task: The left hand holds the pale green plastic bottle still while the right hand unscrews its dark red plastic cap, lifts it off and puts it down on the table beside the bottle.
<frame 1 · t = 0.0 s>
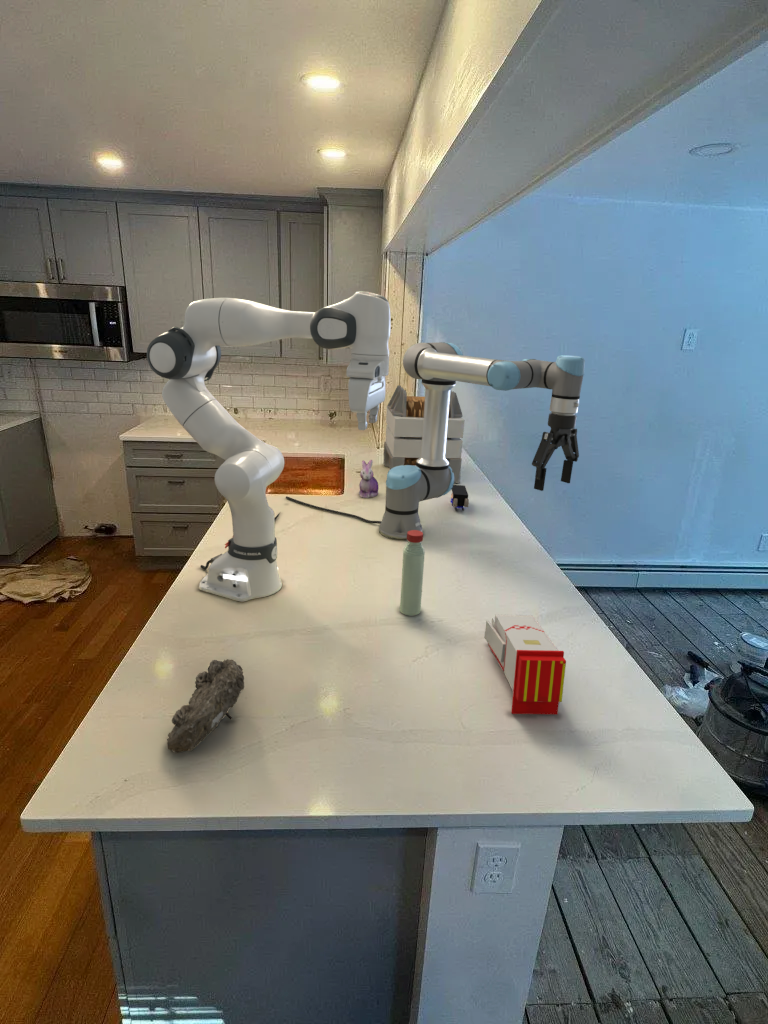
left hand: (367, 425, 136), 48 cm above the counter, tool pointing down, fingers open, 8 cm apart
right hand: (552, 485, 166), 28 cm above the counter, tool pointing down, fingers open, 13 cm apart
toy: (516, 673, 125), on the counter
bottle: (410, 610, 150), on the counter
white storage crate: (419, 473, 275), on the counter
figurine: (368, 495, 239), on the counter
figurine character: (458, 507, 230), on the counter
feather: (278, 516, 211), on the counter
cap: (415, 534, 142), point 22 cm above the counter, screwed on, not yet turned
fossil: (212, 717, 108), on the counter
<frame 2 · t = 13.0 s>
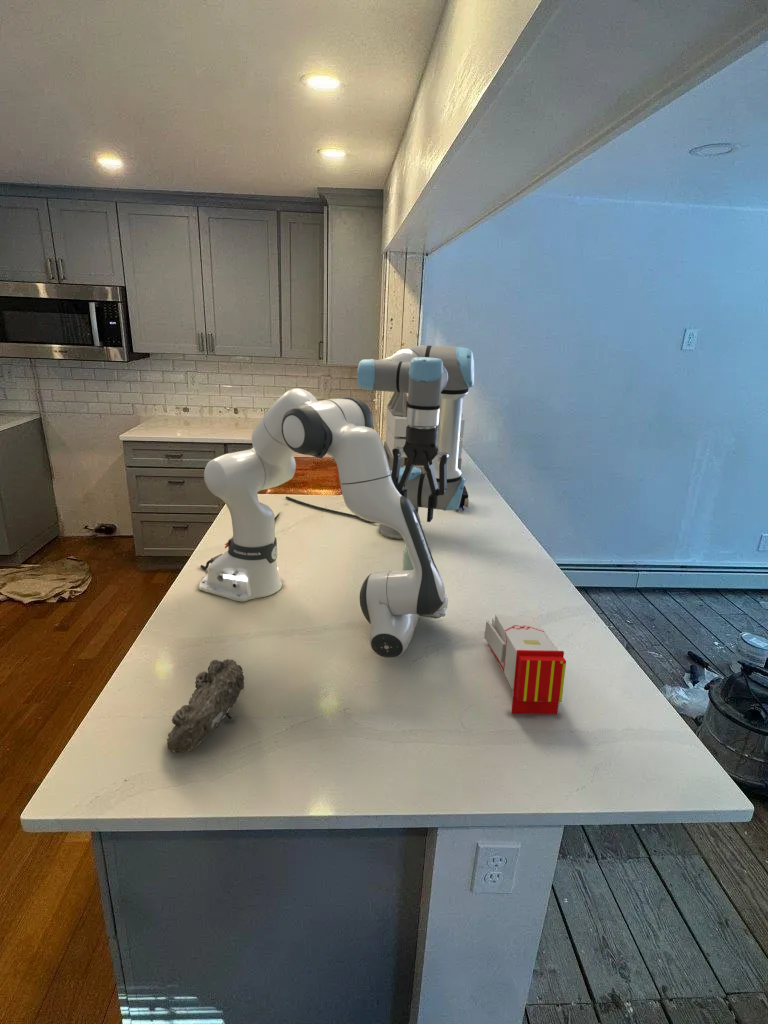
left hand: (412, 585, 148), 7 cm above the counter, tool horizontal, fingers closed on bottle, 5 cm apart
right hand: (416, 517, 141), 26 cm above the counter, tool pointing down, fingers open, 6 cm apart
bottle: (410, 610, 150), on the counter, touching left hand
everything else where it was.
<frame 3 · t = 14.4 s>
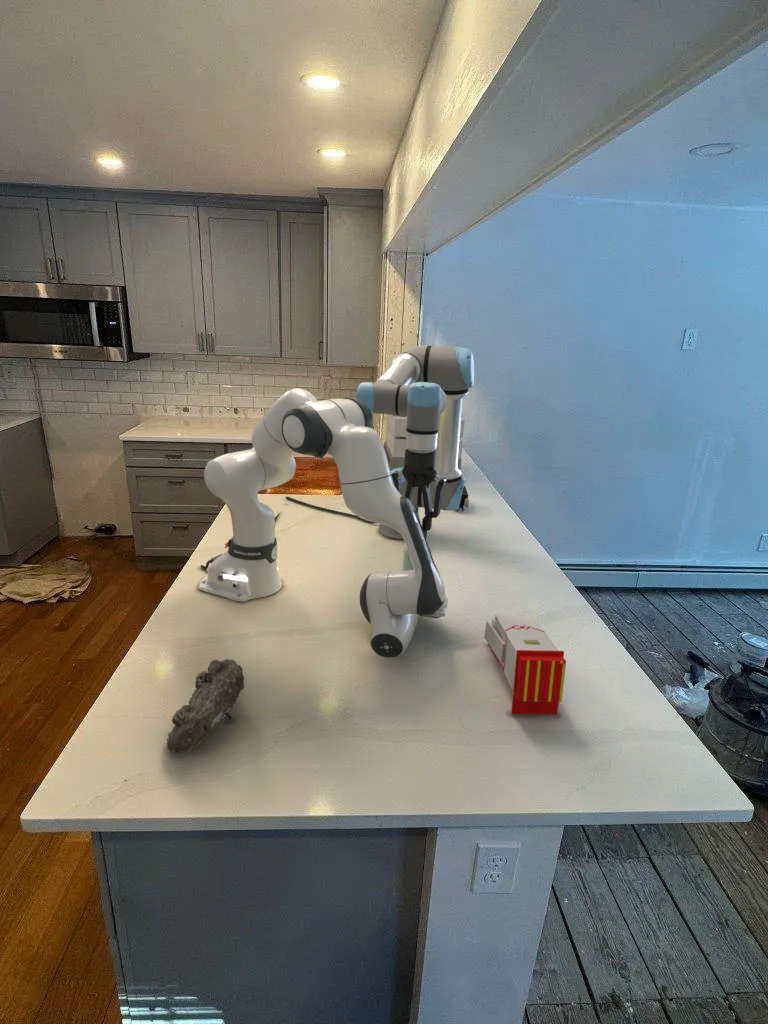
left hand: (412, 585, 148), 7 cm above the counter, tool horizontal, fingers closed on bottle, 5 cm apart
right hand: (414, 539, 143), 20 cm above the counter, tool pointing down, fingers closed on cap, 4 cm apart
bottle: (410, 610, 150), on the counter, touching left hand
cap: (415, 534, 142), point 22 cm above the counter, screwed on, not yet turned, touching right hand
everything else where it was.
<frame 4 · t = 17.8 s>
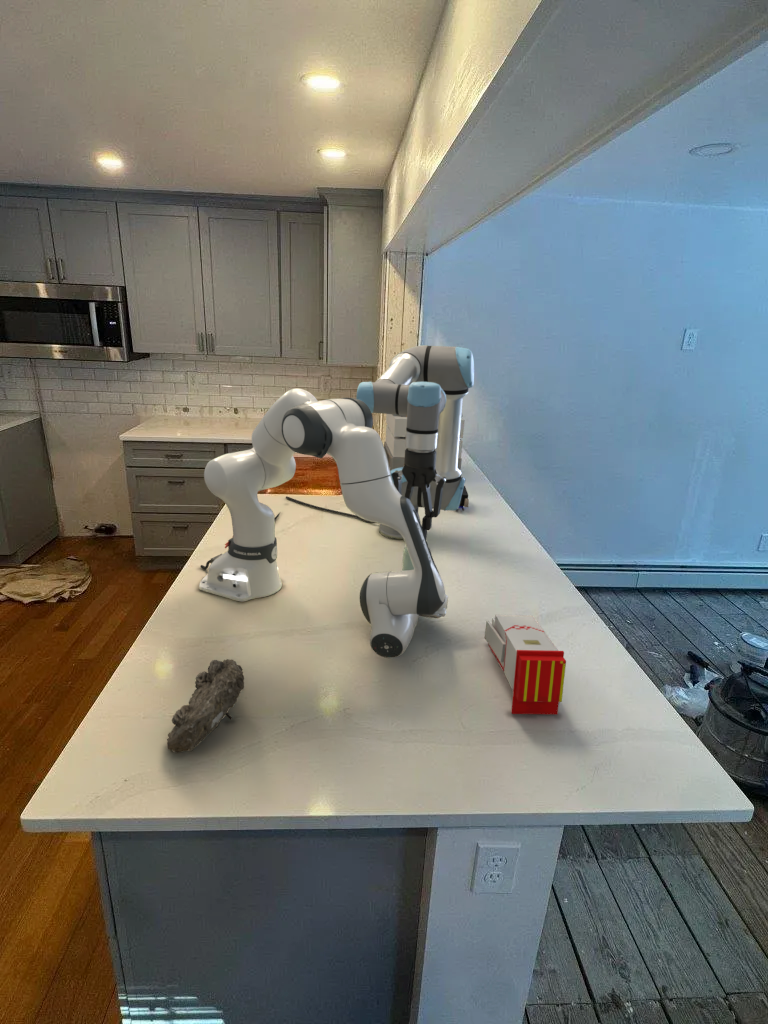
left hand: (412, 585, 148), 7 cm above the counter, tool horizontal, fingers closed on bottle, 5 cm apart
right hand: (414, 539, 143), 20 cm above the counter, tool pointing down, fingers closed on cap, 4 cm apart
bottle: (410, 610, 150), on the counter, touching left hand
cap: (415, 533, 142), point 22 cm above the counter, turned 119° so far, risen 0.1 cm, still on its thread, touching right hand
everything else where it was.
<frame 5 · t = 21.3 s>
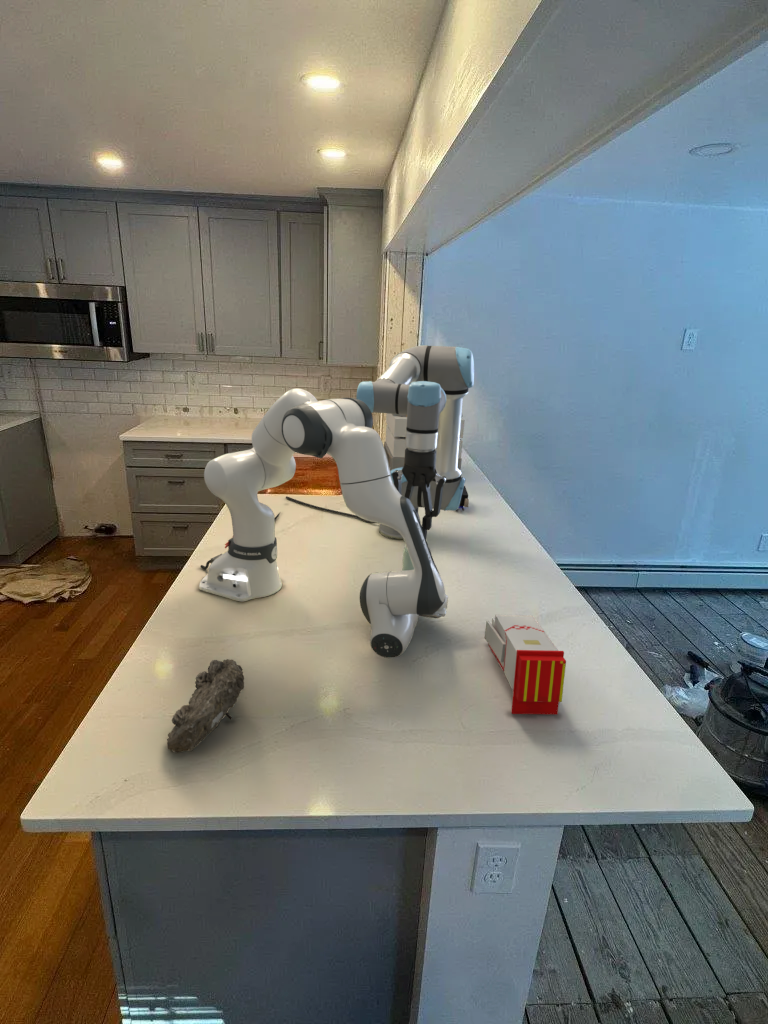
left hand: (412, 585, 148), 7 cm above the counter, tool horizontal, fingers closed on bottle, 5 cm apart
right hand: (414, 539, 143), 20 cm above the counter, tool pointing down, fingers closed on cap, 4 cm apart
bottle: (410, 610, 150), on the counter, touching left hand
cap: (415, 533, 142), point 22 cm above the counter, turned 238° so far, risen 0.2 cm, still on its thread, touching right hand
everything else where it was.
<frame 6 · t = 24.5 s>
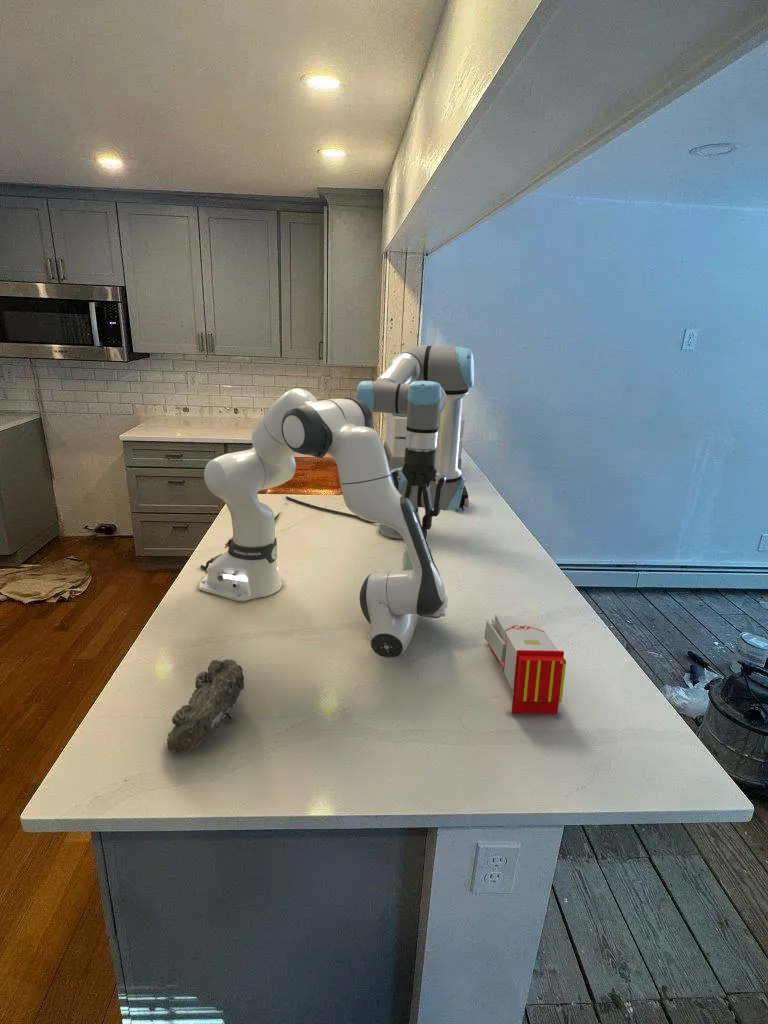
left hand: (412, 585, 148), 7 cm above the counter, tool horizontal, fingers closed on bottle, 5 cm apart
right hand: (414, 538, 143), 20 cm above the counter, tool pointing down, fingers closed on cap, 4 cm apart
bottle: (410, 610, 150), on the counter, touching left hand
cap: (415, 532, 142), point 22 cm above the counter, turned 357° so far, risen 0.3 cm, still on its thread, touching right hand
everything else where it was.
when the right hand's fingers open (1 cm above the counter, at t = 31.9 s): cap drops 2 cm, point 2 cm above the counter.
when the left hand's fingers open (7 cm above the counter, at t = 33.3 s): bottle stays where it is, on the counter.
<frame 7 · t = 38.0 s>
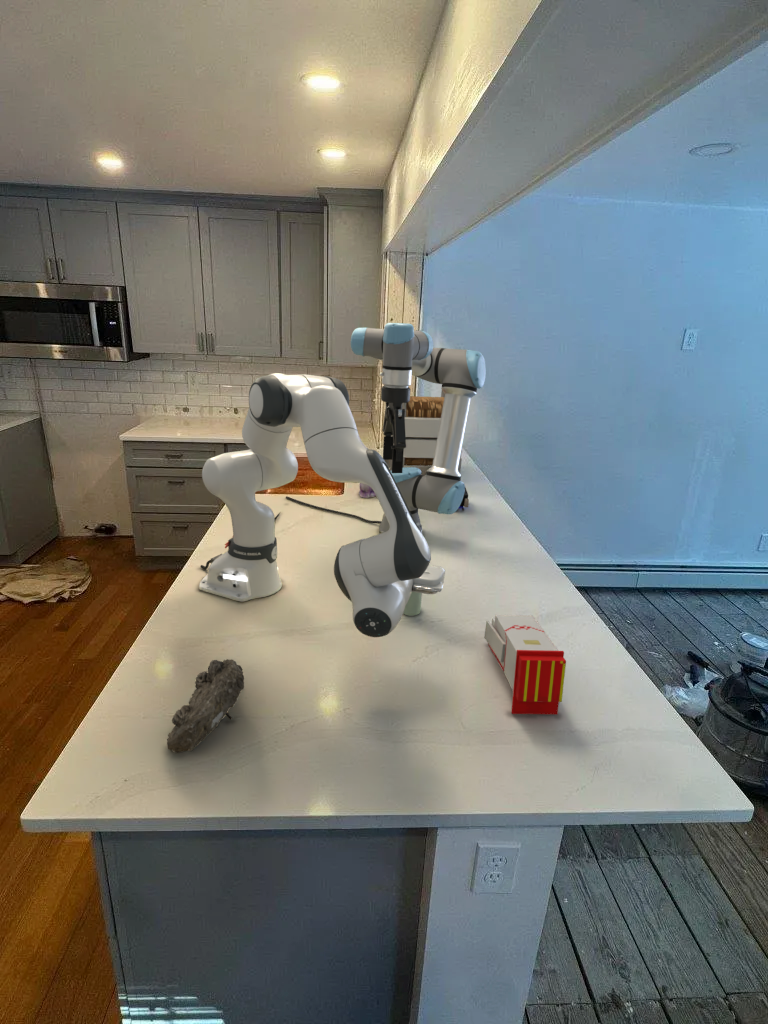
left hand: (404, 559, 131), 20 cm above the counter, tool horizontal, fingers open, 8 cm apart
right hand: (392, 465, 153), 35 cm above the counter, tool pointing down, fingers open, 13 cm apart
bottle: (410, 610, 150), on the counter
cap: (386, 576, 164), point 2 cm above the counter, off its thread
everything else where it was.
at the end: cap came off its thread; cap point 1.5 cm above the counter; the left hand is holding nothing; the right hand is holding nothing; bottle tilted 0°; bottle moved 0.0 cm from its start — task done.
